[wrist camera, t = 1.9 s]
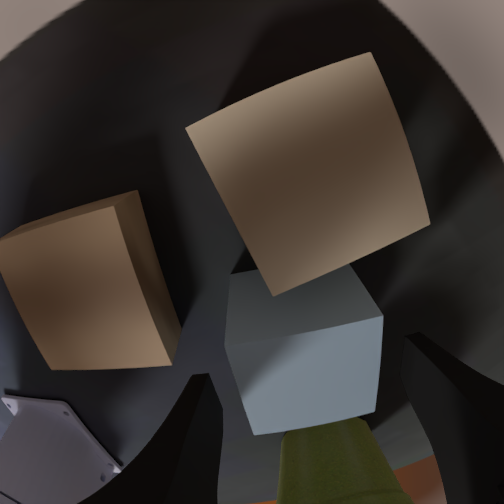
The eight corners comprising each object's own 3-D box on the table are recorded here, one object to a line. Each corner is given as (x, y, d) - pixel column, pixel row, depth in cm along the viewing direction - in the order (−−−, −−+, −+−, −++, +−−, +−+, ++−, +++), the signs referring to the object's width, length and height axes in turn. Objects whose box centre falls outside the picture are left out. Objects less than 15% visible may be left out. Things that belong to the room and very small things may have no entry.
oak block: (182, 325, 15) (172, 365, 13) (72, 336, 16) (51, 369, 13) (140, 188, 13) (113, 205, 10) (24, 223, 13) (-11, 244, 10)
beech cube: (370, 188, 13) (430, 224, 8) (263, 236, 13) (273, 296, 9) (324, 77, 11) (370, 52, 6) (208, 127, 12) (185, 128, 7)
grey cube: (346, 340, 16) (374, 411, 11) (251, 357, 16) (253, 435, 11) (341, 253, 14) (383, 315, 9) (230, 273, 14) (224, 345, 9)
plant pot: (375, 454, 21) (401, 540, 13) (262, 472, 21) (266, 565, 13) (400, 381, 17) (452, 493, 9) (250, 404, 17) (253, 538, 9)
